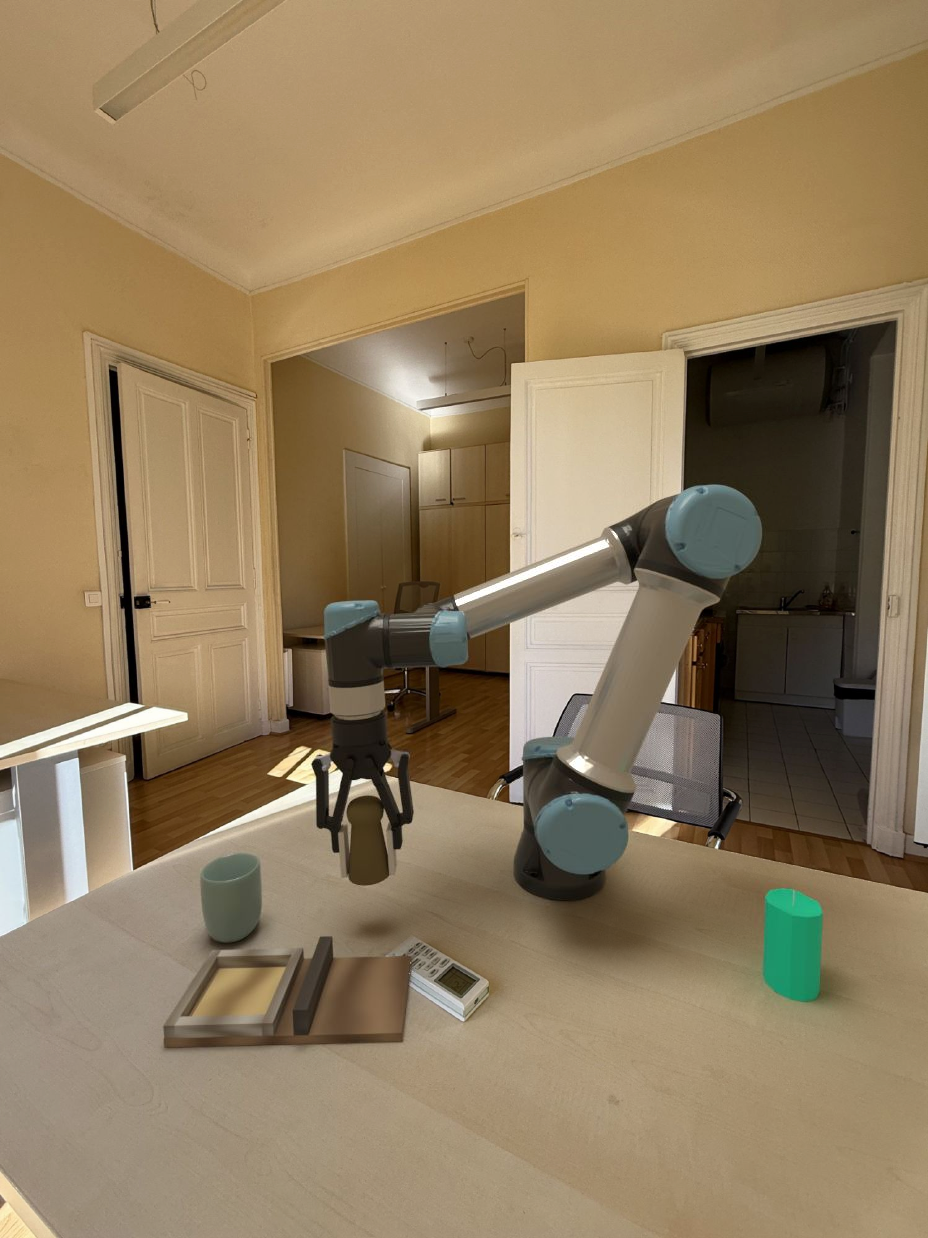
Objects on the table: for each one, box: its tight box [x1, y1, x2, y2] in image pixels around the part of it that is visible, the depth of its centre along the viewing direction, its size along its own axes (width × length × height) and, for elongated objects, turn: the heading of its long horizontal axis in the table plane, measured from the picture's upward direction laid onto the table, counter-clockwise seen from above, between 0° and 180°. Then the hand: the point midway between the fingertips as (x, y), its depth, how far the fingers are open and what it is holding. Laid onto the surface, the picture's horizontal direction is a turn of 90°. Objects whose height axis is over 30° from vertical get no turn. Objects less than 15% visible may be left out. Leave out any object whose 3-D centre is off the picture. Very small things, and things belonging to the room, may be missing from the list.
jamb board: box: [162, 935, 412, 1048], centre depth 66 cm, size 26×12×4 cm, turn 90°
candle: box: [762, 887, 824, 1003], centre depth 67 cm, size 6×6×12 cm
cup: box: [199, 852, 263, 944], centre depth 79 cm, size 8×8×10 cm
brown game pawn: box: [345, 794, 390, 887], centre depth 78 cm, size 6×6×11 cm
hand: (369, 871), depth 78 cm, fingers closed on brown game pawn, 6 cm apart
